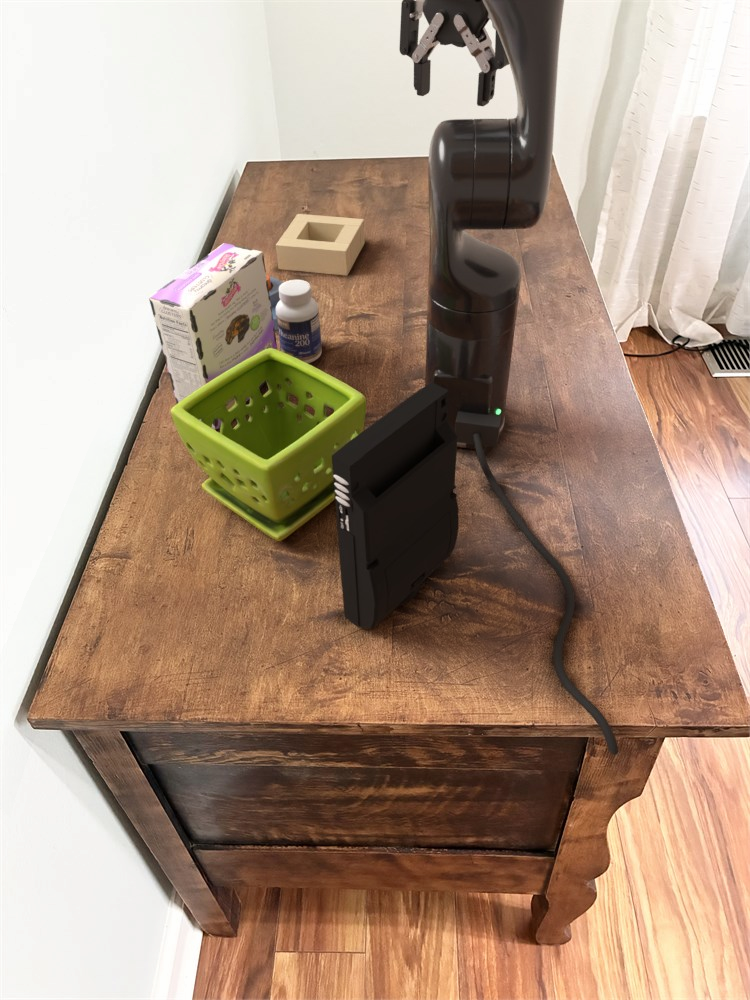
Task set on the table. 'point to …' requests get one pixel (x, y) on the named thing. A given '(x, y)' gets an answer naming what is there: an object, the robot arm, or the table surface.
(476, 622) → the table surface
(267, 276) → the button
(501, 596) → the table surface
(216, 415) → the flower pot
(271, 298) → the switch block
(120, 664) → the table surface
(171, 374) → the candy box
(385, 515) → the black electronic device
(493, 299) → the robot arm
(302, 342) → the pill bottle
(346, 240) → the dock
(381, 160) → the table surface
